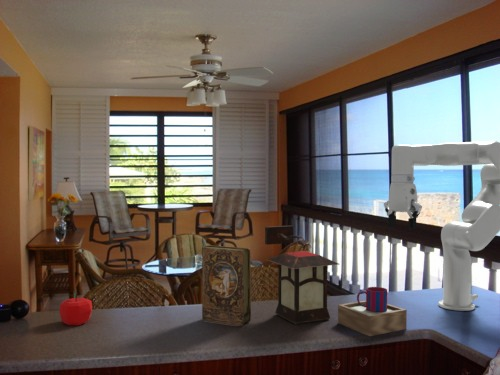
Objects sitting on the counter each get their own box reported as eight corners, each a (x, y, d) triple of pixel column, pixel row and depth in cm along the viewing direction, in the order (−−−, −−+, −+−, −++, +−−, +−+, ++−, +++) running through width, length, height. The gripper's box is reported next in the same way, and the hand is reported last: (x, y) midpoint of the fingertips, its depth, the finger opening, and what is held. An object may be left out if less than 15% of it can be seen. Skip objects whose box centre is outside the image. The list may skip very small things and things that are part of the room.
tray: (373, 316, 179) (373, 299, 179) (406, 329, 165) (406, 309, 165) (338, 323, 171) (338, 304, 171) (369, 336, 158) (369, 316, 158)
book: (199, 321, 174) (199, 247, 173) (207, 316, 179) (207, 245, 178) (243, 327, 167) (243, 250, 166) (250, 322, 172) (250, 248, 171)
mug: (389, 312, 166) (390, 291, 166) (359, 312, 165) (359, 291, 165) (383, 306, 172) (383, 286, 172) (353, 307, 172) (354, 287, 172)
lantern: (300, 303, 198) (300, 225, 196) (339, 320, 174) (340, 232, 173) (256, 308, 190) (256, 227, 189) (292, 328, 166) (292, 235, 165)
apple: (96, 324, 170) (95, 294, 170) (62, 329, 165) (61, 298, 165) (89, 316, 179) (88, 288, 179) (56, 321, 174) (56, 291, 174)
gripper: (429, 180, 177) (428, 230, 177) (392, 179, 192) (392, 225, 192) (413, 180, 173) (412, 231, 174) (377, 179, 188) (376, 226, 189)
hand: (401, 228), depth 183 cm, fingers open, 9 cm apart
